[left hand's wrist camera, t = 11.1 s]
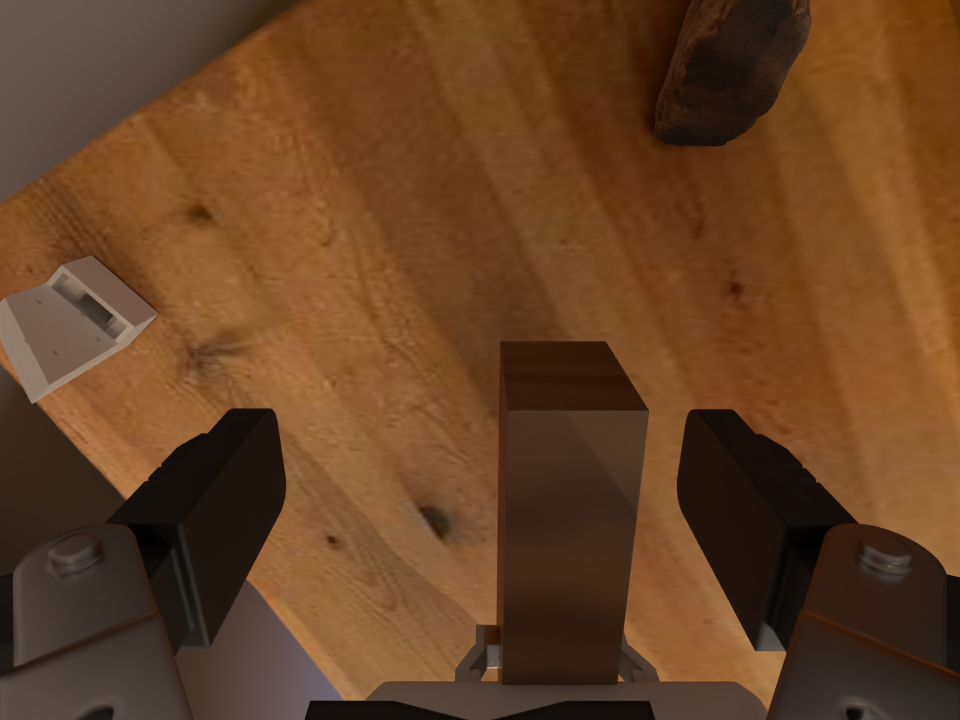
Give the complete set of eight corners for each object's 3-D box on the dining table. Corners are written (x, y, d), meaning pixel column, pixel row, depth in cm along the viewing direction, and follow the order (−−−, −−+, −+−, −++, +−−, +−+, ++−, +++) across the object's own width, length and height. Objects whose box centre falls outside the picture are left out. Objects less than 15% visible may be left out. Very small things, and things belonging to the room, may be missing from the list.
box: (500, 341, 32) (507, 410, 24) (606, 340, 32) (649, 410, 24) (496, 631, 40) (500, 760, 32) (582, 631, 40) (608, 759, 32)
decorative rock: (689, -80, 33) (780, -170, 23) (788, -58, 34) (918, -137, 24) (632, 137, 38) (688, 140, 28) (720, 155, 38) (806, 164, 28)
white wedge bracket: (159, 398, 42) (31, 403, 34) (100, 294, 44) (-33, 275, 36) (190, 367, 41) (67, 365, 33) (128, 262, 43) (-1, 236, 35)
